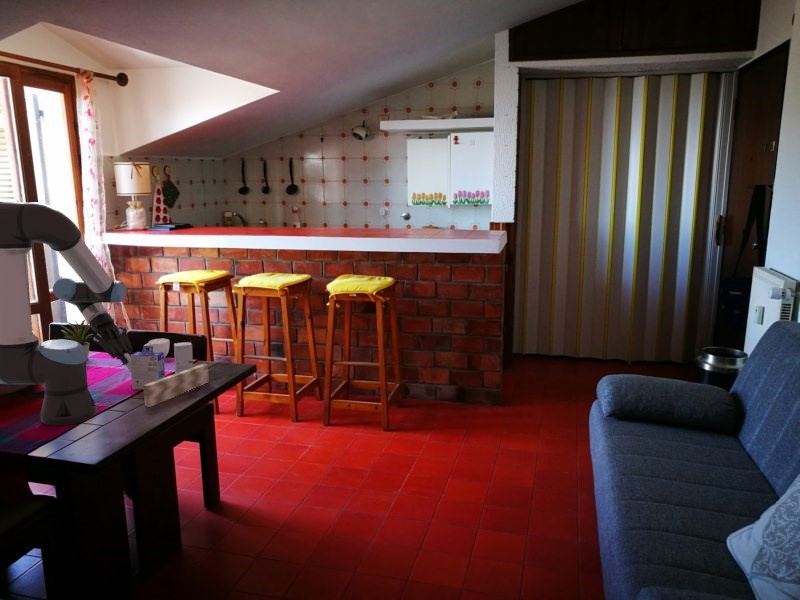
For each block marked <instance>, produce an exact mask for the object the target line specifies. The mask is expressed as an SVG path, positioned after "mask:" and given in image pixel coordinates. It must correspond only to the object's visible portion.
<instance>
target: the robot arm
mask: <svg viewBox="0 0 800 600" xmlns="http://www.w3.org/2000/svg"><path fill="white" fill-rule="evenodd" d="M34 243H35V244H36V243H39V244H45V245H47V246H48V247H49V248H50V249H52V250H53V251H54V252H58V253H59V254H60V255H61V257H62V258H63V259H64V260H65V261H66V262H67V264H68V265H69V266H70V267H71V268H72V269H73V272H75V273H76V274H77V276H78V277H79V278H80V279H81V280H74V279H72V278H68V277H63V278H62V277H61V278H59V279H56V281H55V282H54V284H53V287H52V292H53V295H54V296H55V297H56V298H57V299H59V300H60V301H63V302H66V303H69V304H70V305H73V306H75V307H76V308H77V309H78V310H79V312H80V314H81V315H82V317H84V320H85V319H86V320H85V321H86V323H87V324H88V323H89V324H88V325H89V326H90V328H91V329H92V330H93V332H94V333H95V335H94V336H93V338H92V341H93V342H94V343H96V344H98V345H99V347H101V348H102V349H103V351H104V352H106V353H107V354H108V355H109V356H110V357H111V358H113V359H116V360H118V361H119V360H120V361H121V363H122V364H123V365H124V366H126V367H127V369H128V371H129V372H130V373H131V360H130V356H131V355H132V354H131V353H132V352H133V346H132V344H131V341H130V339H129V336H128V333H127V332H128V331H127V328H125V327H123V328H120V327H119V326H117V325H116V323H115V321H114V319H113V317H112V316H111V314H110V313H109V311H108V310H107V309H106V307H105V305H103V304H105V303H106V304H107V303H109V304H110V303H111V304H113V303H122V302H124V300H125V299H126V296H127V287H126V284H125V282H123V281H121V280H113V279H112V277H111V276H110V275H109V273H107V271H106V270H105V269H104V267H103V265H102V264H101V263H100V262H99V260H98V259H97V258H96V256H95V255H94V253H92V250H90V248H89V246H88V245H87V244H86V242H85V240H83V239H82V232H81V230H80V229H79V228H78V226H77V225H76V224H75V222H74V221H72V219H70V218H69V217H68V216H67V215H65V213H63V212H62V211H60V210H58V209H57V208H55V207H52V206H50V205H49V204H46V203H42V202H36V201H34V202H32V201H31V202H22V201H21V202H15V201H14V202H10V201H9V202H8V201H6V202H5V201H0V384H1V385H9V386H15V385H43V388H44V391H43V392H44V396H43V397H44V399H43V402H42V405H41V406H42V407H41V410H40V414H39V415H40V422H41V423H42V424H44V425H46V426H53V427H55V426H56V427H57V426H61V427H62V426H68V425H74V424H78V423H82V422H85V421H88V420H90V419H92V418H93V417H95V416H96V415H97V413H98V411H97V410H98V409H97V404H96V402H95V400H94V398H93V396H92V394H91V392H90V389H89V385H88V384H89V383H88V371H87V363H86V361H87V360H86V356H85V353H84V348H83V346H82V345H81V344H80V343H78V342H76V341H72V340H71V339H70V340H69V339H63V338H61V339H60V338H59V339H50V340H49V339H48V340H46V341H45V340H44V341H43V342H41V343H40V340H39V339H40V338H39V337H38V336H37V335H36V334H35V333H34V332H33V325H32V324H33V322H32V321H33V320H32V310H31V309H32V307H31V296H30V281H29V267H28V265H29V264H28V254H29V252H30V251H31V250H32V249H33V244H34Z"/></svg>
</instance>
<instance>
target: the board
mask: <svg viewBox="0 0 800 600" xmlns="http://www.w3.org/2000/svg"><path fill="white" fill-rule="evenodd" d="M209 378H210V376H209V365H208V363H207V364H206V363H201V364H199V365H196V366H193V368H190V369H187V370H184V371H182V372H179V373H176V374H175V373H174V374H170V375H167V376H165V378H162V379H159V380H156V381H154V382H151V383H148V384H145V385H143V389H142V390H143V397H144V398H143V400H144V407H148V408H149V407H150V408H151V407H153V406H156V405H157V404H160V403H162V402H166V401H168V400H170V399H173V398H175V396H176V397H178V396H180V395H179V394H181V395H183V394H185V393H184V392H186V391H188V392H190V391H189V390H191V389H193V388H196V387H198V386H201V385H203V384H205V383H208V382H209V383H210V380H209ZM209 383H208V384H209ZM203 386H204V385H203ZM201 387H202V386H201ZM198 388H199V387H198ZM196 389H197V388H196ZM193 390H194V389H193ZM191 391H192V390H191ZM182 393H183V394H182ZM186 393H187V392H186ZM177 395H178V396H177Z"/></svg>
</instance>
